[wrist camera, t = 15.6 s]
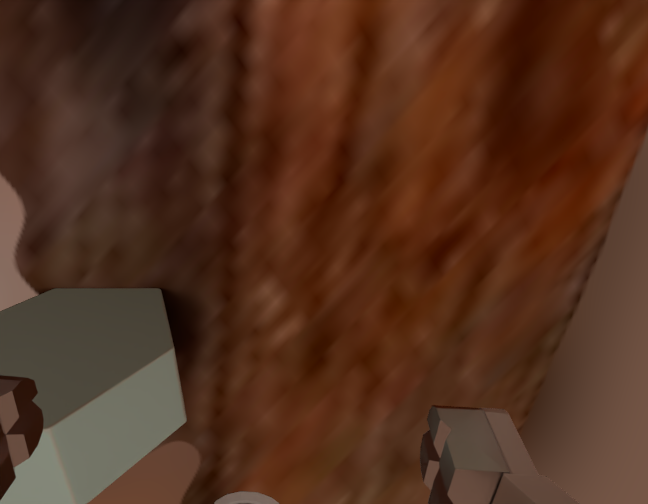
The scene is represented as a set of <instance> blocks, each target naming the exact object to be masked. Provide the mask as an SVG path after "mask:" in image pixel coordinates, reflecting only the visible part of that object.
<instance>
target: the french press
mask: <svg viewBox="0 0 648 504" xmlns="http://www.w3.org/2000/svg"><path fill="white" fill-rule="evenodd" d="M214 504H279V503H278V502H277V501H275V500H274V499H273V498H271V497H269V496H266V495H263V494H260V493H257V492H242V491H241V492H236V493H232V494H227V495H225V496H223V497H222V498H220V499H218V500H217V501H215V503H214Z"/></svg>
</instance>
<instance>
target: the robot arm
mask: <svg viewBox="0 0 648 504" xmlns="http://www.w3.org/2000/svg"><path fill="white" fill-rule="evenodd" d="M37 394H38V391H37V388H36V384H35V381H34V380H32V379H30V378H26V377H15V376H4V375H0V500H1V499H2V497H3V496H4V494H5V493H6V492H7V490H8V489H9V487H10V486H11V484H12V483H13V481H14V480H15V479H16V474H15V467H16V466H18V465H19V464H21V463H22V462H24V461H26V460H27V459H29V458H30V457H31V455H32V454H33V452H34V451H35V449H36V447H37V446H38V444H39V441H40V438H41V435H42V432H43V423H44V418H43V413H42V409H40V408H39V407H38V406H37V405H36V404H35V403H34V402H33V401H32V400H33V399H34V397H35V396H36V395H37ZM427 421H428V425H429V428H430V430H429V431H427V432H426V433H425V434H424V435H423V438H422V443H421V449H420V464H421V473H422V477H423V482H424V483H425V484H426V485H427V486H428V488H429V489H430V490H431V493H430V497H429V501H428V504H579V503H578V502H577V501H576V500H575V499H573V498H572V497H571V496H570V495H569V494H567V493H566V492H565V491H564V490H562V489H561V488H560V487H559V486H558V485H556V484H555V483H554V482H553V481H551V480H550V479H549V478H548V477H547V476H539V475H538V473H537V471H536V469H535V467H534V465H533V463H532V460H531V458H530V456H529V454H528V452H527V450H526V448H525V446H524V444H523V442H522V440H521V438H520V436H519V434H518V432H517V430H516V428H515V426H514V424H513V422H512V420H511V418H510V416H509V414H508V412H506V411H505V410H504V409H492V408H470V407H454V406H437V405H432V407H431V409H430V410H429V414H428V418H427Z"/></svg>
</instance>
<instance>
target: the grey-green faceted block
mask: <svg viewBox="0 0 648 504" xmlns="http://www.w3.org/2000/svg"><path fill="white" fill-rule="evenodd" d="M0 375H4V376H15V377H26V378H30V379H32V380H34V381H35V384H36V388H37V391H38V394H37V395H36V396H35V397H34V399H33V400H32V401H33V402H34V403H35V404H36V405H37V406H38V407H39V408H40V409H42V413H43V418H44V423H43V432H42V435H41V438H40V441H39V444H38V446H37V447H36V449H35V451H34V452H33V454H32V455H31V457H30V458H29V459H27V460H26V461H24V462H22V463H21V464H19V465H18V466H16V467H15V474H16V479H15V480H14V481H13V483H12V484H11V486H10V487H9V489H8V490H7V492H6V493H5V494H4V496H3V497H2V499H1V500H0V504H87V503H88V502H90V501H91V500H92V499H93V498H95V497H96V496H97V495H98V494H99V493H101V492H102V491H103V490H104V489H105V488H106V487H108V486H109V485H110V484H111V483H113V482H114V481H115V480H116V479H118V478H119V477H120V476H121V475H122V474H124V473H125V472H126V471H127V470H128V469H130V468H131V467H132V466H133V465H134V464H136V463H137V462H138V461H139V460H141V459H142V458H143V457H144V456H145V455H147V454H148V453H149V452H150V451H151V450H153V449H154V448H155V447H156V446H158V445H159V444H160V443H161V442H162V441H164V440H165V439H166V438H167V437H168V436H170V435H171V434H172V433H173V432H175V431H176V430H177V429H178V428H179V427H181V426H182V425H183V424H184V423H185V422H186V421H187V417H186V412H185V406H184V400H183V394H182V389H181V383H180V377H179V371H178V366H177V360H176V354H175V349H174V344H173V339H172V335H171V331H170V326H169V322H168V317H167V313H166V308H165V304H164V299H163V295H162V291H161V289H159V288H55V289H52V290H49V291H47V292H45V293H42V294H40V295H38V296H35V297H33V298H31V299H28V300H26V301H24V302H21V303H19V304H16V305H14V306H12V307H9V308H7V309H5V310H2V311H0Z"/></svg>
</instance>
